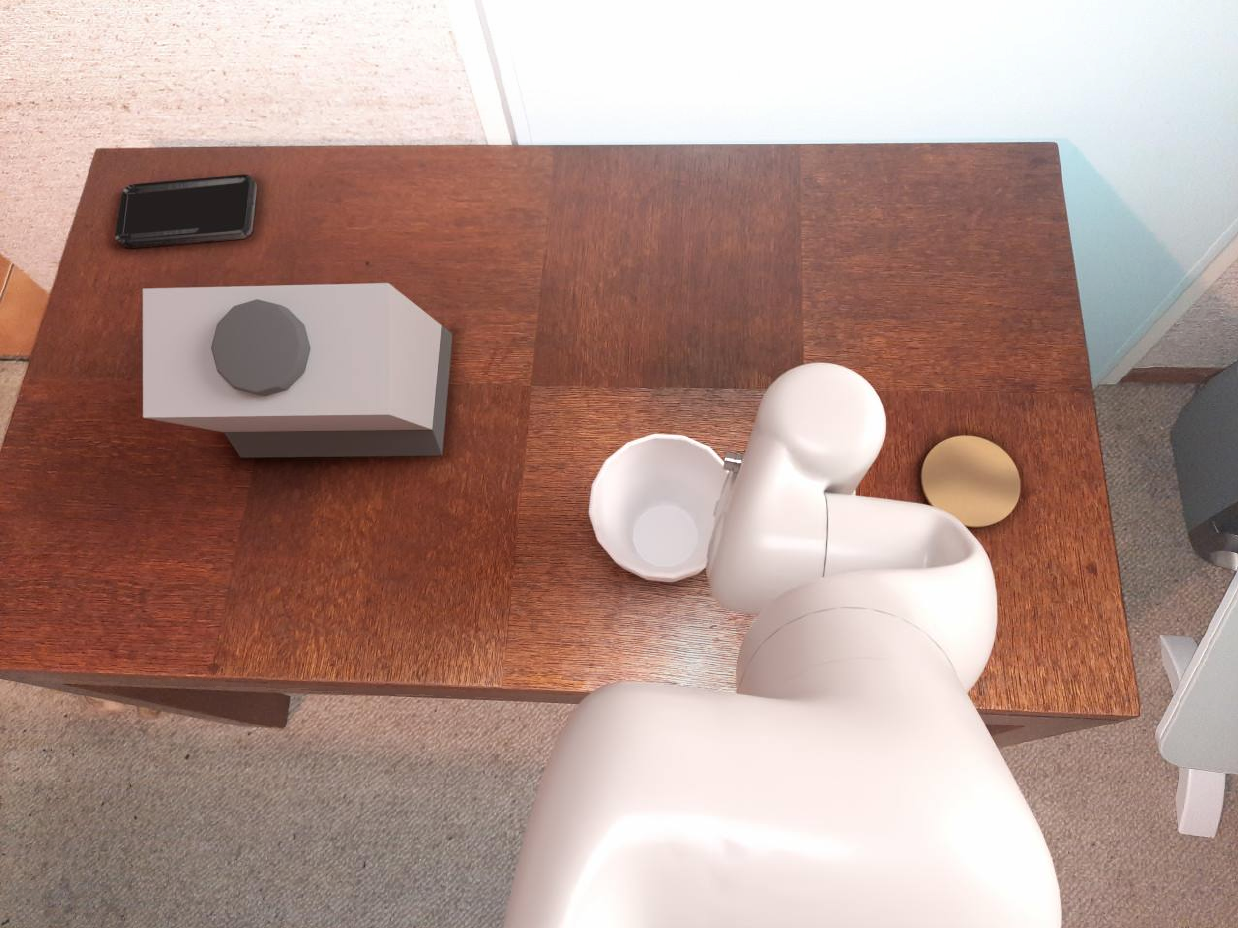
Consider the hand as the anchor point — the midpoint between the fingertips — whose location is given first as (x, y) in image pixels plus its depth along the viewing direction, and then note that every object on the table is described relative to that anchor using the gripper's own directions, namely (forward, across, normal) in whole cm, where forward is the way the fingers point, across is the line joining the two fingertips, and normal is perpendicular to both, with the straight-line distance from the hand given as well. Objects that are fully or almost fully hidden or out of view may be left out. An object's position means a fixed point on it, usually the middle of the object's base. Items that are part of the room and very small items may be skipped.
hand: (769, 542), depth 77 cm
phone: (+2, -70, +22) cm, 73 cm away
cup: (+2, -9, -2) cm, 10 cm away
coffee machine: (+2, -44, +4) cm, 44 cm away
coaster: (+2, +17, +11) cm, 20 cm away
